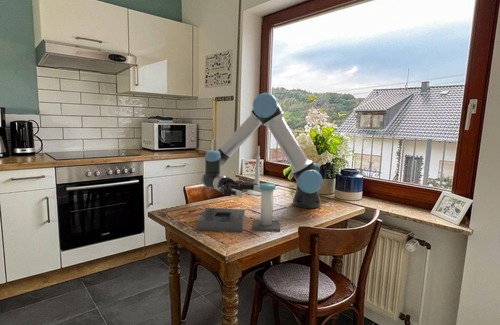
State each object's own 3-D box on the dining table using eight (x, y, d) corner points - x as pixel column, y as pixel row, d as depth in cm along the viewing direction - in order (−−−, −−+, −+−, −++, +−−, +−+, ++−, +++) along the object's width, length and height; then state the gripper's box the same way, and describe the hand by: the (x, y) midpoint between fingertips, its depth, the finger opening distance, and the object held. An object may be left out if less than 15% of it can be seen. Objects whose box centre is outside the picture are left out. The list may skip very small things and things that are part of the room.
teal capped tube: (274, 221, 130) (275, 183, 128) (274, 226, 123) (275, 186, 121) (258, 221, 130) (259, 183, 128) (258, 226, 124) (259, 186, 122)
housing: (244, 217, 137) (245, 209, 137) (241, 232, 120) (241, 222, 119) (206, 216, 138) (206, 207, 138) (197, 230, 120) (197, 220, 120)
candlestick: (242, 193, 185) (243, 145, 181) (255, 189, 195) (256, 144, 191) (258, 196, 177) (259, 146, 173) (270, 193, 187) (272, 145, 182)
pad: (278, 222, 132) (278, 220, 132) (280, 231, 121) (280, 229, 121) (254, 221, 133) (254, 219, 133) (253, 230, 122) (253, 227, 122)
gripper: (242, 188, 156) (272, 196, 141) (202, 195, 139) (231, 205, 124) (243, 174, 155) (272, 180, 140) (202, 179, 138) (231, 187, 123)
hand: (253, 192), depth 132 cm, fingers open, 13 cm apart
